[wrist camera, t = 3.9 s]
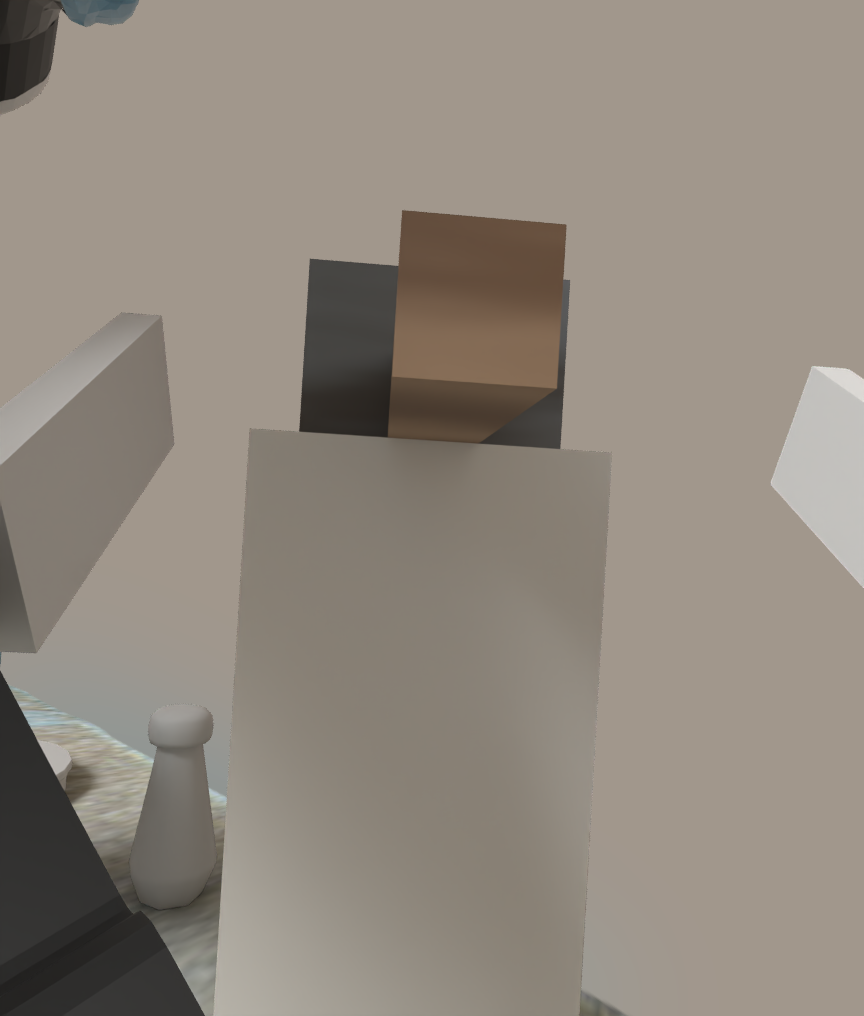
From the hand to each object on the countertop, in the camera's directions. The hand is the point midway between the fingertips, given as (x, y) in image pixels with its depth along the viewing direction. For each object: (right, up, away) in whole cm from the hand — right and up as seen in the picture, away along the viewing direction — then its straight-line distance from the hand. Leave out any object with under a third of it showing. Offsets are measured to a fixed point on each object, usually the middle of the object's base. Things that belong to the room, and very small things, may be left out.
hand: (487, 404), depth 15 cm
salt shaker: (-19, -29, +36) cm, 51 cm away
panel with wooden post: (-1, 0, +7) cm, 7 cm away
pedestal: (-3, -30, +16) cm, 34 cm away
